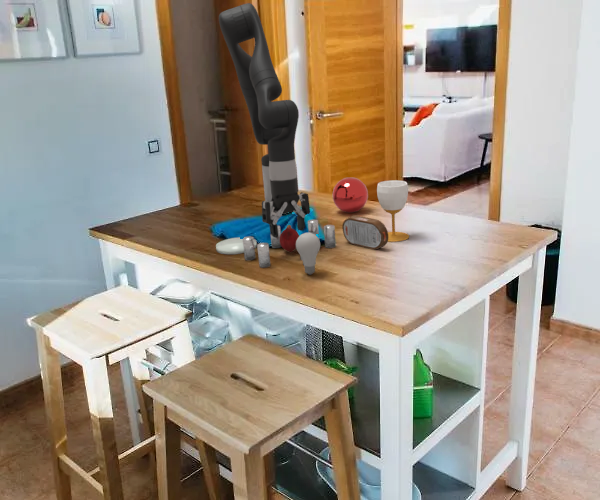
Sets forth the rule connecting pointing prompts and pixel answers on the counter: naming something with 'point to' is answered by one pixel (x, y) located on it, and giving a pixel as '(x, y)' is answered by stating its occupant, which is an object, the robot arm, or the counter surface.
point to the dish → (232, 246)
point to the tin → (365, 232)
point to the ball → (350, 195)
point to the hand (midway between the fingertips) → (288, 233)
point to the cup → (393, 203)
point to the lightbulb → (308, 250)
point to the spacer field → (275, 242)
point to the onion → (289, 239)
